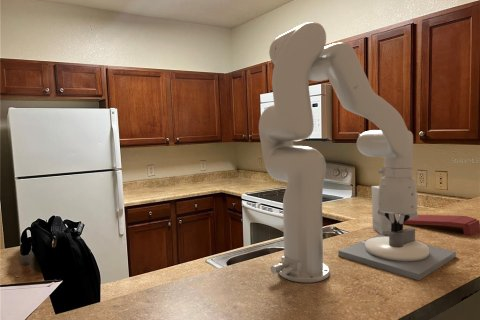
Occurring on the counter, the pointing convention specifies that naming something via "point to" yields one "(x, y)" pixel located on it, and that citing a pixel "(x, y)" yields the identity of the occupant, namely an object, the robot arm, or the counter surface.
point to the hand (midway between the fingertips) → (396, 236)
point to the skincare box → (379, 221)
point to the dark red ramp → (448, 222)
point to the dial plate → (399, 267)
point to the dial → (398, 246)
